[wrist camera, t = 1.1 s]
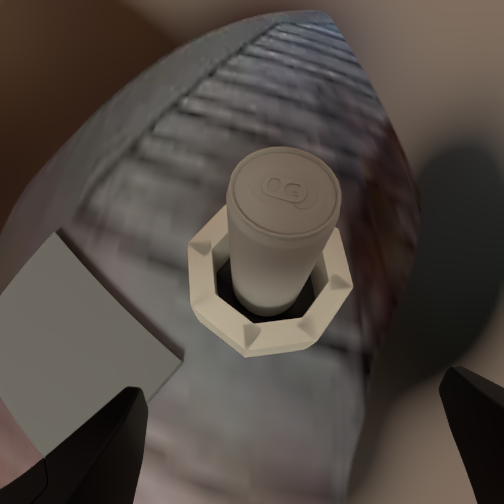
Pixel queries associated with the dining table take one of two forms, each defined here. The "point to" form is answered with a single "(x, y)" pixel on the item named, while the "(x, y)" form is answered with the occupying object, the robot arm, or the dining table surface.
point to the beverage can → (278, 225)
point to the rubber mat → (70, 347)
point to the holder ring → (268, 333)
